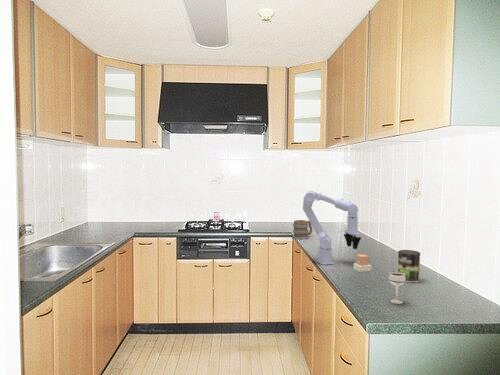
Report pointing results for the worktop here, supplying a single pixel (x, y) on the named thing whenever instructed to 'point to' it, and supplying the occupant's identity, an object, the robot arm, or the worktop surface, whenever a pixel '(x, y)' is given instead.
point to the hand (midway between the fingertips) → (352, 247)
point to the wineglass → (397, 282)
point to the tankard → (301, 229)
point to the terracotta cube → (362, 260)
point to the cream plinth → (362, 268)
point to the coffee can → (409, 265)
